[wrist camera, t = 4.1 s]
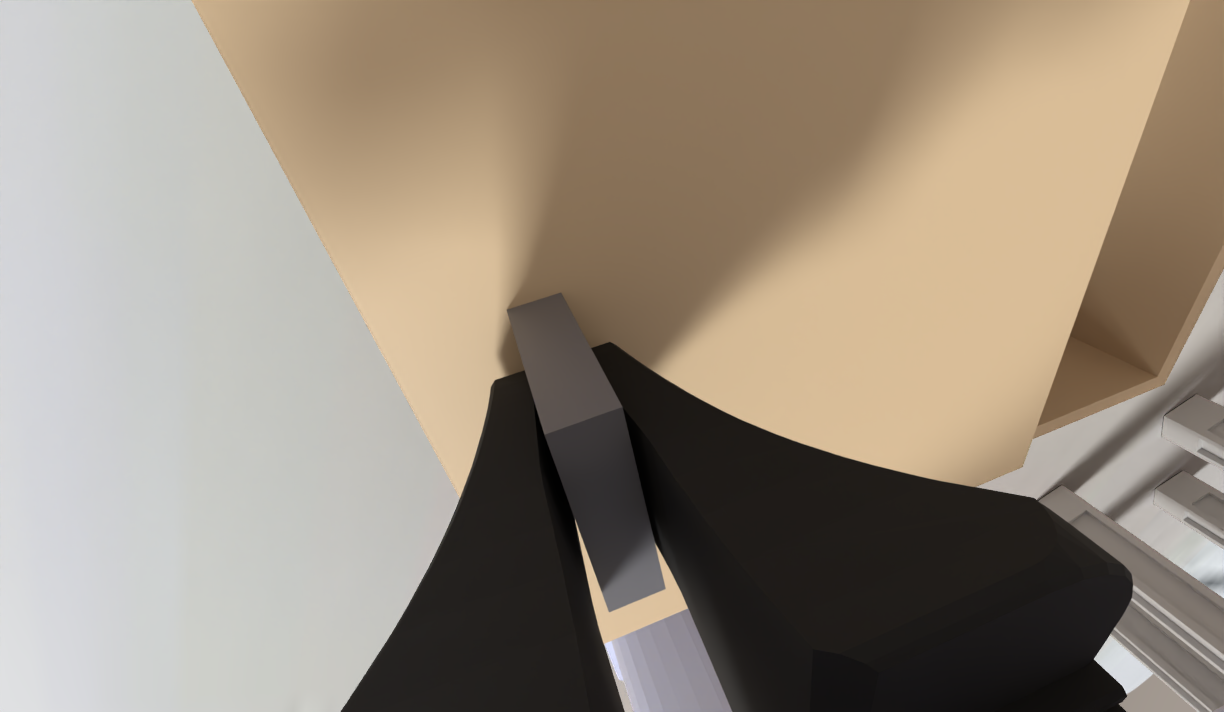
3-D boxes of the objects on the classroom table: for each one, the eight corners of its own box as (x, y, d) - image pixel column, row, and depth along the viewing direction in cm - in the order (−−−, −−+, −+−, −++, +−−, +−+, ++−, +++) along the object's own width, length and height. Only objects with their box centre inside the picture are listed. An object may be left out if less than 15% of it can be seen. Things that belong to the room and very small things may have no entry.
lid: (1006, 455, 18) (1139, 551, 15) (546, 646, 16) (580, 813, 12) (1297, -436, 8) (1983, -804, 4) (70, -262, 5) (-533, -765, 2)
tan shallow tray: (1032, 322, 23) (1164, 384, 19) (695, 449, 21) (762, 550, 17) (1222, -301, 13) (1596, -458, 9) (605, -186, 11) (720, -326, 6)
